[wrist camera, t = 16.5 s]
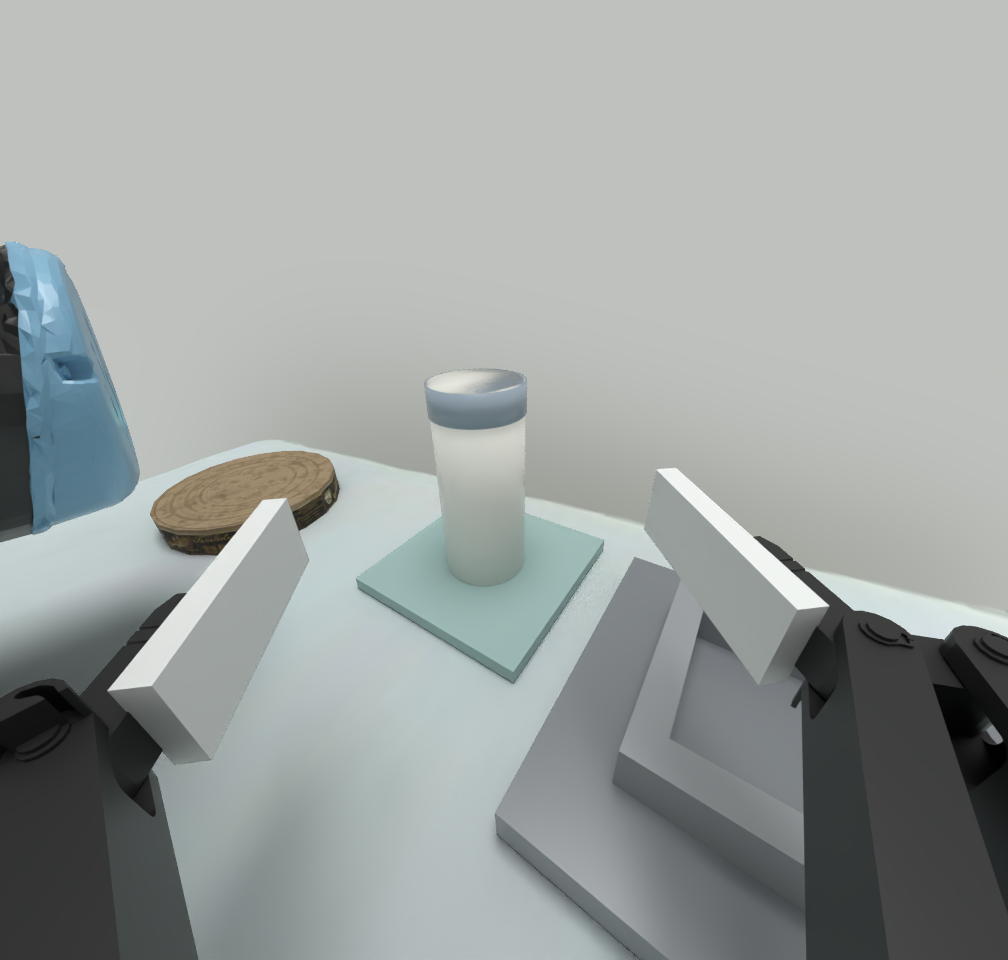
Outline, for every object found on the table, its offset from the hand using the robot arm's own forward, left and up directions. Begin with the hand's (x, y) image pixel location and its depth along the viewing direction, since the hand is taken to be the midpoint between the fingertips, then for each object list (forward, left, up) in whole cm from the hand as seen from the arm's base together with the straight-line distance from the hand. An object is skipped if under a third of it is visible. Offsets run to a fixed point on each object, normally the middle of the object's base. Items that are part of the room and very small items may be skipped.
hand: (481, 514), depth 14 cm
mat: (-7, +9, -13) cm, 17 cm away
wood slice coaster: (-33, +4, -14) cm, 36 cm away
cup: (-7, +9, -12) cm, 17 cm away
